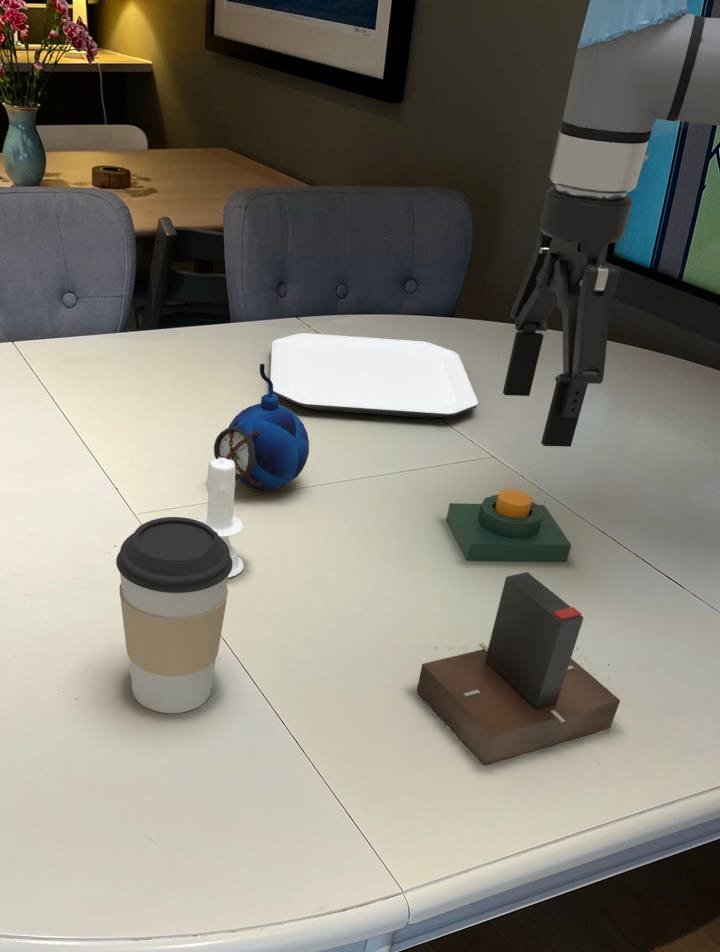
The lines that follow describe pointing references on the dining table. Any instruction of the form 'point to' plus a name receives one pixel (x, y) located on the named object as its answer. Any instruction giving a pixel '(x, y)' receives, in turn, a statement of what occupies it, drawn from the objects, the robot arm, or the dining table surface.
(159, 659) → the coffee cup
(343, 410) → the plate
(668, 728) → the dining table surface
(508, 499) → the button
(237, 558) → the candle
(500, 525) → the box
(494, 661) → the dark grey block
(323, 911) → the dining table surface
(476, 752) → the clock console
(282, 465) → the bomb
